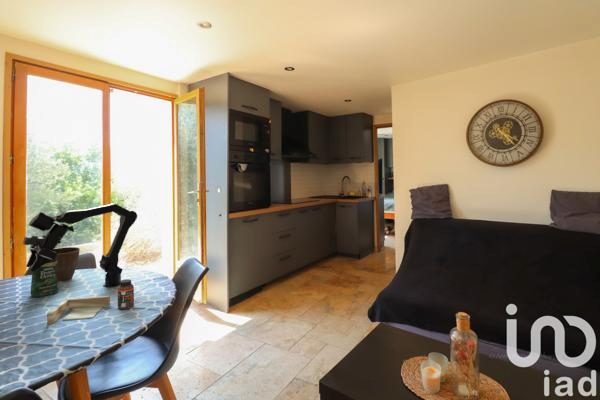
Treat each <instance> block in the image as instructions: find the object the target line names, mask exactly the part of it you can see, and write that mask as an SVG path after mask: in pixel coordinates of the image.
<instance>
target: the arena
mask: <svg viewBox="0 0 600 400" xmlns="http://www.w3.org/2000/svg"><path fill="white" fill-rule="evenodd" d="M110 305H111V295H102V296H101V295H100V296H98V295H97V296H90V297H89V296H87V297H76V298H75V297H74V298H65V299H64V300H62V302H60V303H59V304H58V305H56V306H55V307H53V308H52V309H51V310H50V311H49V312H47V313H46V325H52V324H54V323H55V322H56V321H58V319H60V318H61V317H62V316H63V315H65V313H67V312H68V311H70V310H72V311H71V312H70V313H69V314H68V315H66V316H65V317H64V318H63V319H62V321H63V322H64V321H75V320H85V319H93V318H95V316H96V315H97V314H98V313H99V312H100V311H101V310H102V309H103V307H104V308H105V307H110Z"/></svg>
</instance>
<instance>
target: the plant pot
mask: <svg viewBox="0 0 600 400" xmlns="http://www.w3.org/2000/svg"><path fill="white" fill-rule="evenodd" d="M54 250H55V252H56V253H57V264H56V277H57V282H58V283H64V282H68V281H70V280H72V279H73V276H74V274H75V271H76V269H77V265H78V261H79V257H80V251H81V250H80V248H79V247H75V246H72V247H71V246H69V247H57V248H55V249H54Z"/></svg>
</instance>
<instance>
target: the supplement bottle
mask: <svg viewBox="0 0 600 400" xmlns="http://www.w3.org/2000/svg"><path fill="white" fill-rule="evenodd" d="M134 304H135V287H134V284H133V283H132V280H131V279H128V278H126V279H121V281H120V285H118V287H117V308H118V309H119V310H126V309H131V308H132V307H133V306H134Z"/></svg>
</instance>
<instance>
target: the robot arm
mask: <svg viewBox="0 0 600 400" xmlns="http://www.w3.org/2000/svg"><path fill="white" fill-rule="evenodd" d="M109 213H114V214H116V215H117V216H119V227H118V228H117V231H116V234H115V236H114V238H113V241H112V243H111V245H110V248H109V250H108V252H107V253H106V254H102V255H101V258H100V260H99V262H98V263H99V267H100V269H102V270H103V271H104V273H105V277H104V284H103V285H102V286H103V287H110V288H115V287H117V286H120V281H122V272H123V268H121V267H120V266H118V265H119V253H120V252H121V249H122V246H123V244H124V241H125V239H126V237H127V234H128V232H129V229H130V228H131V227H132V225H134V224H135V222H136V221H137V219H138V213H137V212H136V211H134V210H131V209H130V210H129V209H127V208H124V207H122V206H120V205H119V204H118V203H110V204H106V205H101V206H96V207H91V208H87V209H73V210H72V209H71V210H64V211H62V212H61V214H59V215H55V216H53V217H51V216H49V215H47V214H45V212H44V213H43V212H42V211H39V212H38V214H36V215H35V216H34V217H32V219H31V220H30V221H29V222H28V226H29V227H31V228H33V229H37V230H39V231H42V232H46V231H48V232H47V233H46V234H43V235H42V236H41V237H40V236H38V235H32V236H30V235H28V236H27V235H24V237H23V241H22V244H23V245H24V246H29V251H30V253H31V254H30V256H29V258H28V261H27V263H26V265H25V267H26V268H30V266H32V265H33V266H32V268H30V269H29V271H30V272H31V273H32V272H33V271H35V270H36V269H38V268H40V267H41V266H43V265H44V264H46V263H48V262H50V261H52V259H55V258H56V257H57V253H56V252H55V250H54V249H56V247H57V246H58V245H60V244H61V243H62V240H63V238H64V236H65V235H66V234H67V232H68V231H70V232H73V233H74V232H75V230H74V224H76V223H80V222H81V221H83V220H85V219H87V218H91V217H96V216H97V217H98V216H101V215H104V214H109ZM56 222H57V223H56ZM58 223H59V224H58Z"/></svg>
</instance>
